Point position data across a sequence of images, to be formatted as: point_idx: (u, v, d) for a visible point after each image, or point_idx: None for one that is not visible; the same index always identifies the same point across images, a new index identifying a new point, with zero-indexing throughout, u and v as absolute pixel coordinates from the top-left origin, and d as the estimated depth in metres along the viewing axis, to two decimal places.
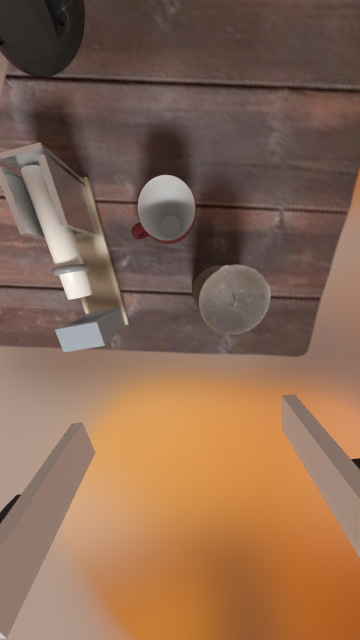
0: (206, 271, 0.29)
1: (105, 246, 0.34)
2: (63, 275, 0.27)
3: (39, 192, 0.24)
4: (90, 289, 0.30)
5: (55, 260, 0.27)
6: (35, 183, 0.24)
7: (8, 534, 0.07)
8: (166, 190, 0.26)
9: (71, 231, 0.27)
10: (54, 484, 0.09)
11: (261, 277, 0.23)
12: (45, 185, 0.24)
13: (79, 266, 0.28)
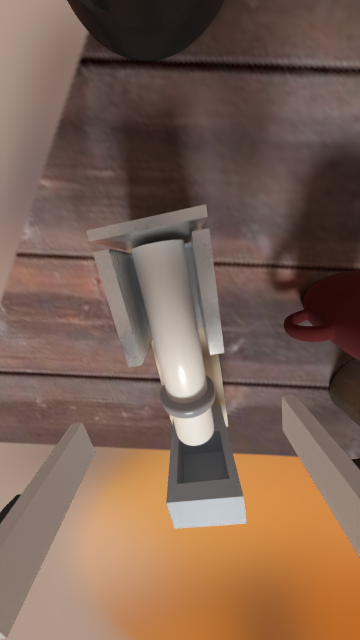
0: None
1: None
2: None
3: (168, 289, 0.12)
4: (212, 419, 0.18)
5: (174, 392, 0.15)
6: (164, 275, 0.12)
7: (8, 534, 0.07)
8: None
9: (199, 338, 0.16)
10: (54, 484, 0.09)
11: None
12: (179, 274, 0.12)
13: (212, 398, 0.16)
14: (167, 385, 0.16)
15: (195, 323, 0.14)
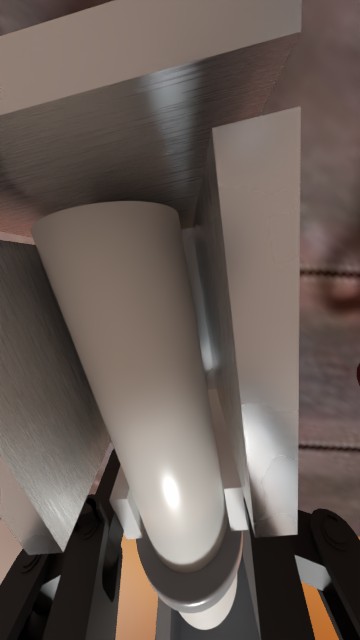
0: None
1: None
2: None
3: (134, 350, 0.04)
4: None
5: (159, 549, 0.07)
6: (119, 309, 0.04)
7: None
8: None
9: (213, 426, 0.07)
10: None
11: None
12: (166, 306, 0.04)
13: (239, 550, 0.08)
14: (146, 528, 0.07)
15: (207, 408, 0.06)
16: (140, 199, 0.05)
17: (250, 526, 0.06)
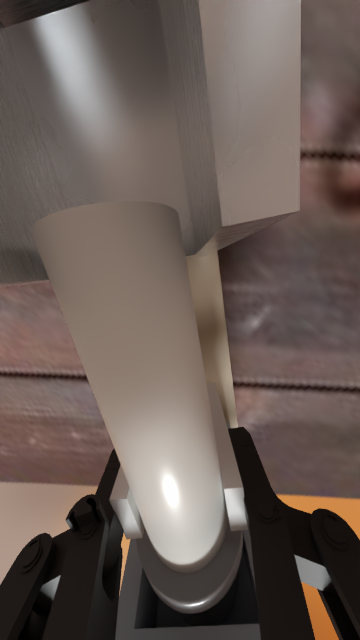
0: None
1: (218, 283, 0.12)
2: None
3: (134, 349, 0.04)
4: None
5: (159, 549, 0.07)
6: (119, 309, 0.04)
7: None
8: None
9: (213, 426, 0.07)
10: None
11: None
12: (166, 305, 0.04)
13: (239, 550, 0.08)
14: (146, 528, 0.07)
15: (206, 408, 0.06)
16: None
17: (250, 526, 0.06)
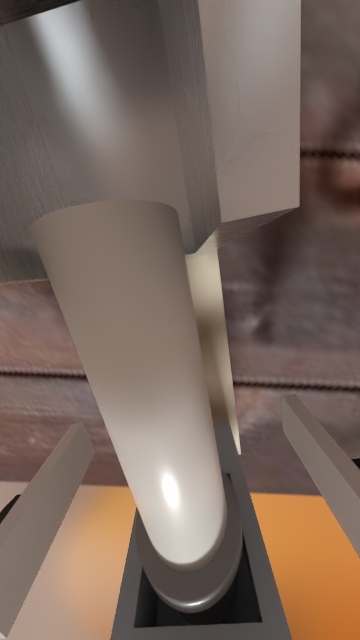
0: None
1: (218, 283, 0.12)
2: None
3: (134, 349, 0.04)
4: None
5: (159, 548, 0.07)
6: (119, 308, 0.04)
7: (8, 534, 0.07)
8: None
9: (213, 426, 0.07)
10: (54, 484, 0.09)
11: None
12: (166, 305, 0.04)
13: (239, 549, 0.08)
14: (145, 528, 0.07)
15: (207, 408, 0.06)
16: None
17: None
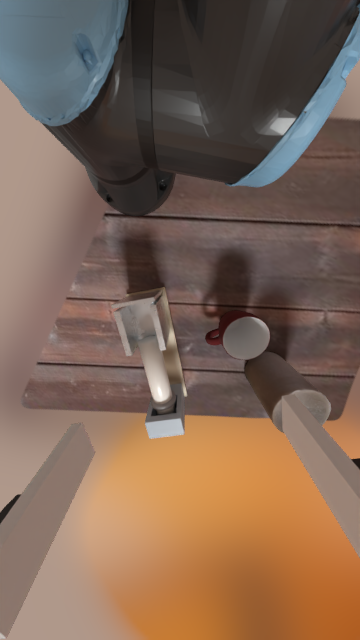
0: (267, 370, 0.35)
1: (174, 337, 0.40)
2: None
3: (152, 359, 0.32)
4: (175, 411, 0.38)
5: (156, 399, 0.35)
6: (150, 354, 0.32)
7: (8, 534, 0.07)
8: None
9: (167, 375, 0.35)
10: (54, 484, 0.09)
11: (324, 398, 0.29)
12: (156, 353, 0.32)
13: (173, 401, 0.35)
14: (153, 396, 0.35)
15: (164, 370, 0.34)
16: None
17: None
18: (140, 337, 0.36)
